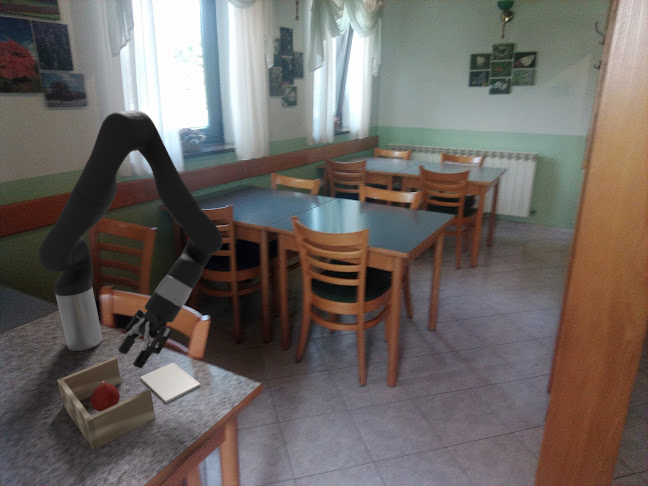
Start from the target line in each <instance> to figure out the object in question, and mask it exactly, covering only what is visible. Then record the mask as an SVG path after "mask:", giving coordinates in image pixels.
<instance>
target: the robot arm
mask: <svg viewBox="0 0 648 486" xmlns="http://www.w3.org/2000/svg"><path fill="white" fill-rule="evenodd" d="M167 149H168V148H166V146H165V143H164V142H163V139H162V137H161V135H160V133H159V130H158V129H157V126H156V125H155V123H154V122H153V120H152V119H151V116H149V115H148V114H147V113H145V112H143V111H142V110H138V109H137V110H136V109H135V110H134V109H133V110H121V111H116V112H113V113H110V114H108V115H107V116H106V117H105V118H104V120H103V121H102V123H101V125H100V128H99V131H98V134H97V137H96V140H95V142H94V145H93V148H92V151H91V153H90V156H89V158H88V159H87V161H86V163H85V166H84V167H83V170H82V172H81V174H80V176H79V178H78V180H77V181H76V182H75V185H74V187H73V189H72V191H71V192H70V195H69V197H68V199H67V201H66V203H65V205H64V207H63V209H62V210H61V212H60V215H59V216H58V217H57V220H56V222H55V224H54V225H53V226H52V228H51V230H50V231H49V232H48V233H47V235H46V236H45V238H44V239H43V241H42V242H41V244H40V246H39V248H38V261H39V263H40V265H41V266H42V268H44V270H46V271H48V272H52V273H59V272H62V273H61V274H60V276H59V277H58V278H57V279H56V281H55V282H54V284H53V289H54V293H55V299H56V302H57V305H58V306H57V307H58V311H59V312H58V313H59V315H60V319H61V324H62V329H63V333H64V338H65V341H66V342H65V343H66V347H67V349H68V350H70V351H73V352H81V351H85V350H90V349H92V348H94V347H97V346H98V345H99V344H100V343H102V341H103V333H102V329H101V324H100V320H99V319H100V318H99V315H98V314H99V313H98V309H97V304H96V299H95V295H94V294H95V293H94V290H93V285H92V284H93V283H92V281H93V273H94V272H93V266H92V261H91V253H90V249H89V244H88V243H87V240H86V239H85V238H84V237H83V236H84V235H85V234H86V233H87V232H89V231H90V230H91V229H92V228H93V227H95V225H97V224H98V223H99V222H100V221H101V219H102V218H104V216H106V214H107V212H108V211H109V208H110V207H111V205H112V204H113V202H114V200H115V197H116V195H117V192H118V191H117V190H118V185H117V184H118V183H117V182H118V181H117V175H118V172H119V170H120V168H121V166H122V164H123V163H124V161H125V160H126V158H127V157H128V155H129V154H130V153H132V152H135V151H138V152H139V153H140V155H141V156H143V158H144V159H145V161H146V162H147V163H148V165H149V168H150V169H151V172H152V175H153V178H154V183H155V186H156V190H157V194H158V197H159V199H160V201H161V203H162V205H163V206H164V207H165V209H166V210H167V212H168V213H169V215H170V216H171V217H172V218H173V221H175V223H176V224H177V225H178V226H180V227H181V228H182V229H183V230H184V232H185V233H186V234H187V236H188V238H189V240H188V242H187V244H186V245H185V247H184V249H183V250H182V252H181V254H180V255H179V257H178V258H177V260H176V261H175V262H174V264H173V265H172V266H171V268H169V269H170V270H169V271H168V272H167V274H166V275H165V276H164V278H163V279H162V280H161V281H160V282H159V283H158V285H157V287H156V288H155V290H154V292H153V293H152V295H150V297H149V299H148V300H147V302H146V303H145V305H144V309H145V310H146V312H145V311H144V310H141V309H138V310H137V312H135V313H134V315H133V317H132V318H131V320H130V321H129V322H128V324H127V325H126V327H125V328H124V332H126V334H125V336H126V337H124V340H123V341H122V343H120V345H119V347H118V349H117V350H118V352H119V353H121V354H123V355H127V354H128V353H129V351H130V350H131V348H132V346H133V345H134V344H135V342H136V340H137V339H138V338H140V337H143V341H144V344H143V349H141V350H140V352H139V354H138V355H137V356H136V358H135V360H134V362H133V363H132V365H133V366H134V367H136V368H139V369H142V368H143V367H144V366H145V365H146V363H147V361H148V360H149V358H150V357H151V355H153V354H156V355H159V354H161V352H162V350H163V349H164V347H165V345H166V343H168V340H169V338H170V336H171V334H172V333H173V330H172V329H170V328H168V327H166V326H167V324H168V323H173V322H174V321H175V319H176V318H177V317H178V315H179V313H180V312H181V310H182V309H183V307H184V305H185V304H186V302H187V300H188V299H189V297H190V295H191V292H192V291H193V289H194V288H195V286H196V284H197V283H198V281H199V280H200V279H201V276H202V274H203V272H204V269H205V266H206V265H207V264H208V262H209V261H210V259H211V257H212V256H213V254H216V253H217V252H219V251H220V250H221V249H222V246H223V241H224V239H223V235H222V233H221V231H220V229H219V228H218V227H217V226H216V224H215V222H213V221H212V219H211V218H210V217H209V215H207V213H206V212H204V211H203V209H202V208H201V206H200V204H199V202H198V201H197V200H196V198H195V196H194V195H193V194H192V193H191V190H190V189H189V188H188V186H187V184H186V183H185V181H184V180H183V178H182V177H181V175H180V174H179V172H178V170H177V168H176V165H175V164H174V161H173V160H172V157H171V156H170V153H169V152H168V150H167ZM157 345H158V346H157Z"/></svg>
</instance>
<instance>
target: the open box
mask: <svg viewBox="0 0 648 486" xmlns="http://www.w3.org/2000/svg"><path fill="white" fill-rule="evenodd" d="M56 381H57V385H58V390H59V393H60V398H61V402H62V406H63V408H64V409H65V410H66V412H67V413H68V415H69V416H70V417H71V419H72V420H73V422H74V423H75V425H76V427H78V429H79V432H81V433H82V435H83V437H84V438H85V439H86V441H87V442H88V444H89V445H90V447H91V448H92V449H93V450H96V449H98V448H101V447H102V446H104V445H105V444H108V443H110V442H112V441H114V440H116V439H117V438H119V437H121V436H123V435H125V434H127V433H129V432H131V431H133V430H135V429H137V428H139V427H141V426H143V425H144V424H146V423H149V422H150V421H153V420H154V419H156V414H155V408H154V401H153V397H152V396H153V395H152V390H151V389H150V388H149V389H146V390H145V391H141V392H140V393H138V394H136V395H133V396H131V397H129V398H128V399H125V400H123V401H120V402H118V404H116V405H114V406H112V407H110V408H108V409H106V410H104V411H101V412H99V411H98V413H95V414H93V415H90V413H89V412H88V411H87V409H86V408H85V407H84V405H83V404H82V403H81V401H83V400H86V399H88V398H91V396H92V393H93V391H94V390H95V389H96V388H97V387H98V386H99V385H100V384H101V382H103V381H105V383H107V384H111V385H113V386H115V387H116V386H117V385H119V384H122V379H121V375H120V368H119V363H118V358H117V357H116V356H114V357H113V358H109V359H107V360H105V361H102V362H100V363H97V364H95V365H92V366H89V367H87V368H84V369H82V370H79V371H77V372H74V373H71V374H69V375H67V376H64V377H62V378H59V379H57V380H56Z"/></svg>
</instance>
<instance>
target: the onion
mask: <svg viewBox="0 0 648 486" xmlns="http://www.w3.org/2000/svg"><path fill="white" fill-rule="evenodd" d="M120 399H121V396H120V392H119V389H118V388H117V387H116V385H115V386H113V385H111V384H107V383H105V381H103V382H101V384H100V385H99V386H98V387H97V388H96V389H95V390H94V391H93V393H92V396H90V403H91V406H92V408H93V409H94V410H95V411H97V412H98V413H99V412H101V411H104V410H106V409H108V408H110V407H112V406H114V405H116V404H118V403H120Z"/></svg>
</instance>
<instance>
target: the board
mask: <svg viewBox="0 0 648 486" xmlns="http://www.w3.org/2000/svg"><path fill="white" fill-rule="evenodd" d="M139 379H140V380H141V381H142V382H143V383H144V384H145V385H146V386H147V387H148V388H149V390H150V391H152V392H153V393H154V394H156V396H158V397H159V398H160V400H162V401H163V402H164V403H165V404H168V403H169V402H172V401H174V400H175V399H177V398H179V397H181V396H184V395H185V394H187V393H189V392H191V391H194V390H196V389H197V388H199V387H201V383H200V382H199V381H197V380H196V379H195V378H193V377H192V376H191V375H190V374H188V373H187V372H186V371H185V370H183V369H182V368H181V367H179V365H177V364H176V363H174V362H171V363H168V364H167V365H163V366H162V367H159V368H157V369H155V370H153V371H151V372H149V373H146V374H144V375H142V376H139Z"/></svg>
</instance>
